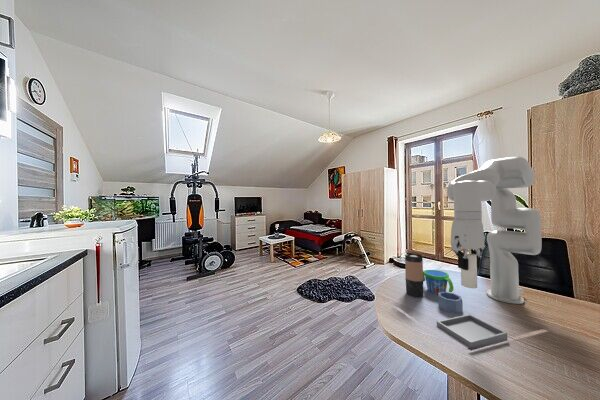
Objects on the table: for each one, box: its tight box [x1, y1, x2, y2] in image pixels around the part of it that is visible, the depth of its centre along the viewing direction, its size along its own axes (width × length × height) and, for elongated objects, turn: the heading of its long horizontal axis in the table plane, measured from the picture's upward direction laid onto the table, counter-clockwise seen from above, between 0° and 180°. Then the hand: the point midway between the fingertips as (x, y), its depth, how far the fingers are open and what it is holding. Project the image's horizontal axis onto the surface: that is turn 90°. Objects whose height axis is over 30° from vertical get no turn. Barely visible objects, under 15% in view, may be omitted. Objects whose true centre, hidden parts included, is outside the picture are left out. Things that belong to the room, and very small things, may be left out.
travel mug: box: [404, 253, 424, 298], centre depth 102 cm, size 8×8×20 cm
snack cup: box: [423, 269, 454, 295], centre depth 105 cm, size 16×10×10 cm
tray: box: [436, 313, 508, 351], centre depth 73 cm, size 16×12×2 cm
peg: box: [460, 252, 478, 289], centre depth 73 cm, size 4×4×11 cm
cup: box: [437, 291, 464, 314], centre depth 89 cm, size 8×8×6 cm
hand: (468, 267), depth 73 cm, fingers closed on peg, 4 cm apart
